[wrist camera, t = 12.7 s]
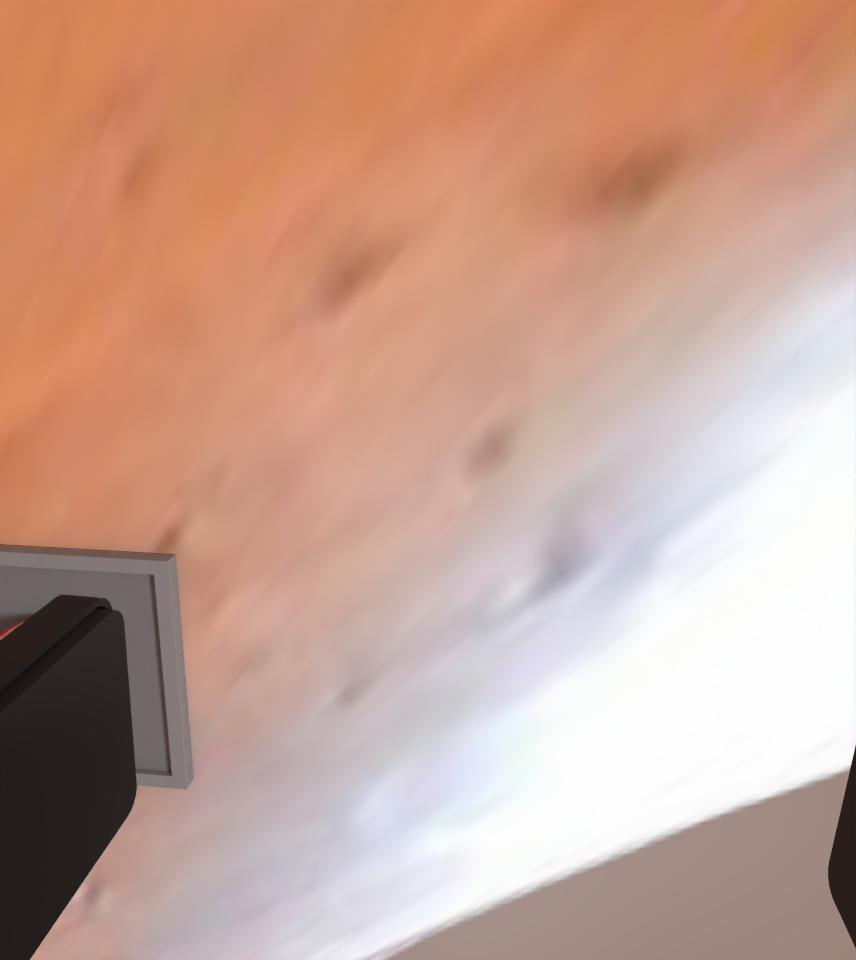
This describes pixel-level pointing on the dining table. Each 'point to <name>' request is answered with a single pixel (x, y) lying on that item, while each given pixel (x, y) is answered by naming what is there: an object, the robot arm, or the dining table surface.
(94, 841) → the robot arm
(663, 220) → the dining table surface
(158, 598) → the coaster mat
